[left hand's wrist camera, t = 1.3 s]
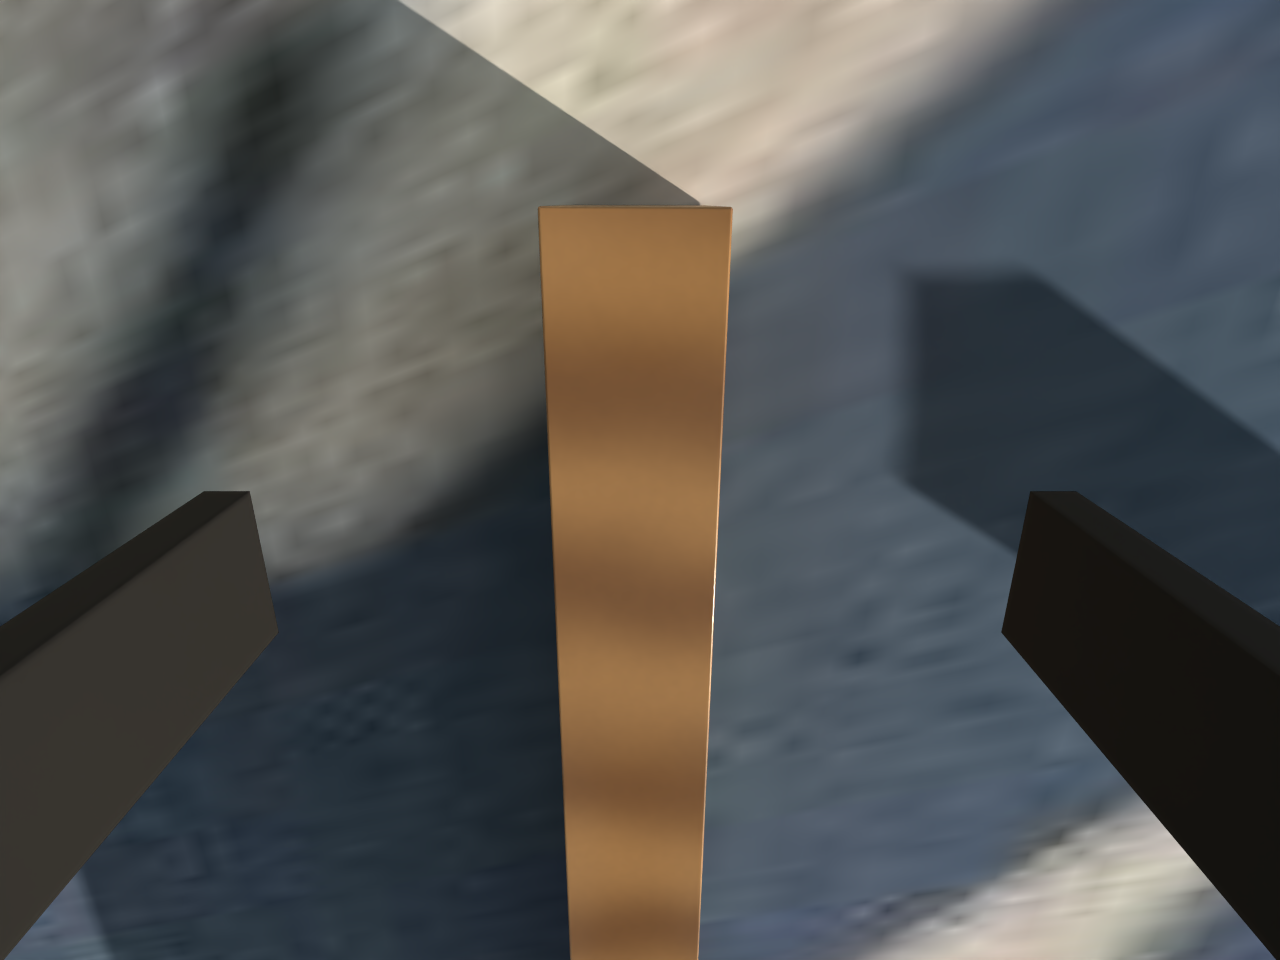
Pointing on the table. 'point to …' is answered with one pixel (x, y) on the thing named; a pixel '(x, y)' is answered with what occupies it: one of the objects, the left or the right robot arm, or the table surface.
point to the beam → (634, 556)
